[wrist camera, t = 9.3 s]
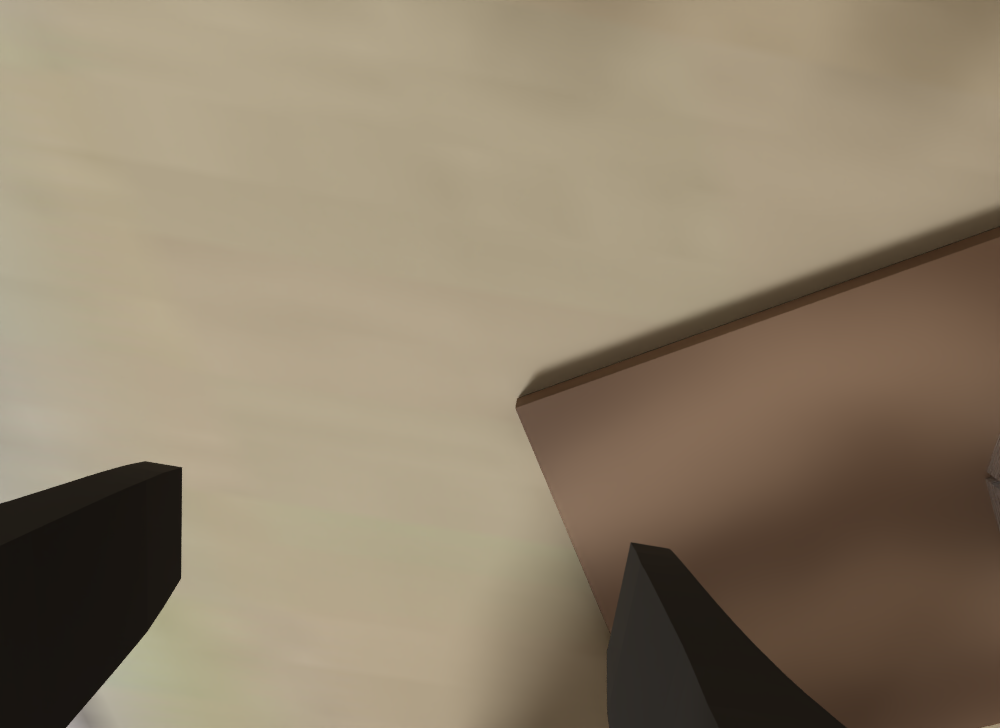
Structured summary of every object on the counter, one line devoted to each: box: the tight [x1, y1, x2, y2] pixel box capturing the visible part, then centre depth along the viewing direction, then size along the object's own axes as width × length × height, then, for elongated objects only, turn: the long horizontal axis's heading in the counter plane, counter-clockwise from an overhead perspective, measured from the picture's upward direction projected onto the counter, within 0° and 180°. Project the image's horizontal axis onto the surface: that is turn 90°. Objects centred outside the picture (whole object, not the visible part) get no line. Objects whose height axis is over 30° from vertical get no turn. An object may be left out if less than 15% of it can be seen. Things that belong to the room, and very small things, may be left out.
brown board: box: [516, 227, 1000, 728], centre depth 20 cm, size 14×20×1 cm
